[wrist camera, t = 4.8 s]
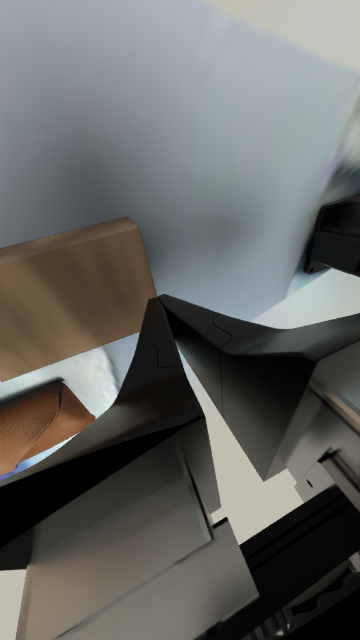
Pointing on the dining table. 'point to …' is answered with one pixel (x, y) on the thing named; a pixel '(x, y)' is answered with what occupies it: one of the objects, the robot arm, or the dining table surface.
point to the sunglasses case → (39, 423)
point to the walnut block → (71, 294)
